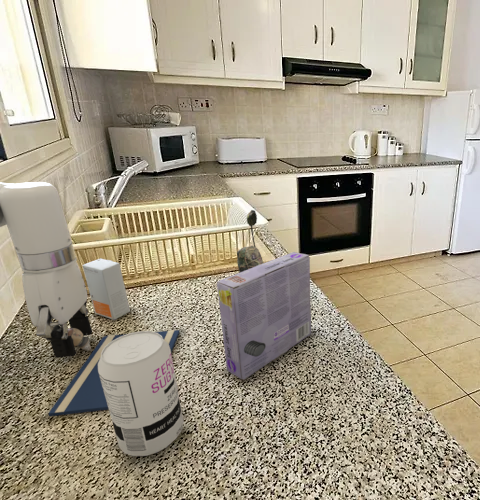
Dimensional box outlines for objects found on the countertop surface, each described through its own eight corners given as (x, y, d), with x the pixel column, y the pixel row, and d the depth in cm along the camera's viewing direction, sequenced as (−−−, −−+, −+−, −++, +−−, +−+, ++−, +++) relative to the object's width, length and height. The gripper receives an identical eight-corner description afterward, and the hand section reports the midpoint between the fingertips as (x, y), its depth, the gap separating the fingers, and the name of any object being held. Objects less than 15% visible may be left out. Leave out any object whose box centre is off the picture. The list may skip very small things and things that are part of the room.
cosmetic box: (94, 314, 82) (81, 264, 77) (112, 305, 85) (100, 257, 81) (113, 320, 80) (101, 270, 75) (131, 311, 83) (120, 262, 79)
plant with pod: (229, 293, 92) (220, 215, 85) (261, 277, 101) (256, 205, 94) (253, 302, 88) (246, 222, 81) (284, 284, 97) (281, 210, 90)
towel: (49, 416, 55) (47, 413, 55) (104, 338, 74) (103, 335, 73) (150, 404, 58) (149, 401, 58) (179, 332, 76) (179, 329, 76)
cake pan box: (298, 323, 80) (296, 247, 74) (316, 332, 78) (315, 253, 71) (224, 371, 66) (213, 281, 59) (243, 383, 63) (233, 290, 56)
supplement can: (123, 422, 55) (100, 336, 49) (184, 406, 58) (169, 323, 52) (115, 468, 48) (88, 374, 42) (184, 447, 51) (167, 357, 46)
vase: (56, 364, 66) (46, 336, 64) (54, 349, 70) (45, 322, 68) (92, 353, 69) (84, 325, 67) (88, 339, 73) (81, 313, 71)
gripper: (50, 240, 71) (74, 322, 77) (-13, 280, 55) (24, 378, 62) (94, 238, 72) (114, 318, 79) (45, 276, 56) (75, 373, 63)
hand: (74, 344), depth 70 cm, fingers closed on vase, 5 cm apart
